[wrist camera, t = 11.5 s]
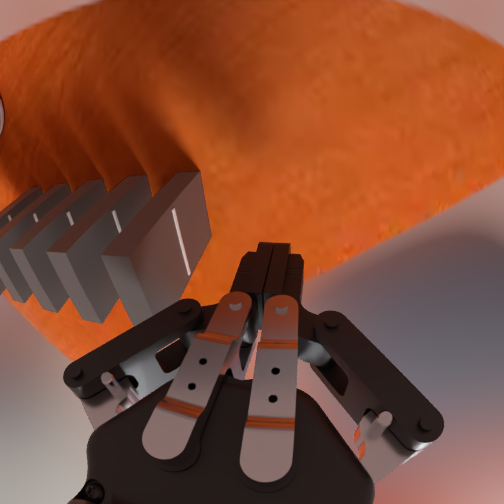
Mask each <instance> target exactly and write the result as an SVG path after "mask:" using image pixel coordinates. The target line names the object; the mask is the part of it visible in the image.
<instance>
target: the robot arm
mask: <svg viewBox="0 0 504 504" xmlns="http://www.w3.org/2000/svg"><path fill="white" fill-rule="evenodd" d="M303 274H304V260H303V259H302V257H301V255H300V254H291V246H290V243H271V242H259V244H258V248H257V251H256V252H247V253H246V254H245V255H244V256H243V257H242V259H241V262H240V264H239V267H238V270H237V273H236V276H235V279H234V281H233V284H232V287H231V290H230V293H228V294H226V295H224V296H223V297H222V298H221V300H220V302H219V303H217V304H214V305H208V306H202V307H201V305H200V303H199V302H198V301H196V300H194V299H182V300H179V301H177V302H175V303H174V304H172V305H170V306H169V307H167V308H165V309H163V310H162V311H160V312H158V313H157V314H155V315H153V316H151V317H150V318H148V319H146V320H145V321H143V322H141V323H139V324H138V325H136V326H134V327H133V328H131V329H129V330H127V331H126V332H124V333H122V334H121V335H119V336H117V337H115V338H114V339H112V340H110V341H109V342H107V343H105V344H103V345H102V346H100V347H98V348H96V349H95V350H93V351H91V352H90V353H88V354H86V355H84V356H83V357H81V358H79V359H77V360H76V361H74V362H72V363H71V364H70V365H68V367H67V368H66V369H65V371H64V376H63V379H64V382H65V384H66V385H67V386H68V387H69V388H70V389H71V390H72V391H73V392H74V394H75V395H76V396H77V397H78V398H79V399H80V400H81V402H82V405H83V407H84V409H85V411H86V414H87V416H88V418H89V420H90V422H91V424H92V426H93V428H94V432H93V433H92V434H91V436H90V438H89V441H88V444H87V460H88V471H87V479H86V483H85V485H84V487H83V488H82V489H81V491H80V492H79V493H78V494H77V495H76V496H75V497H74V498H73V499H72V500H70V501H69V502H68V504H373V501H374V497H375V487H374V485H375V484H376V483H378V482H379V481H380V480H382V479H383V478H384V477H386V476H387V475H388V474H390V473H391V472H392V471H393V470H394V469H396V468H397V467H398V466H400V465H401V464H404V463H406V462H408V461H409V460H410V459H412V458H413V457H415V456H416V455H417V454H419V453H420V452H421V451H422V450H424V449H425V448H426V447H428V446H429V445H430V444H431V443H432V442H434V441H435V440H436V439H437V438H438V437H439V436H440V435H441V433H442V431H443V429H444V420H443V417H442V415H441V414H440V412H439V411H438V410H437V409H436V408H435V407H434V406H433V405H432V404H431V403H430V402H429V401H428V400H427V399H426V398H425V397H424V396H423V395H422V393H421V392H420V391H419V390H418V389H417V388H416V387H415V386H414V385H413V384H412V383H411V382H410V381H409V380H408V379H407V378H406V377H405V376H404V375H403V374H402V373H401V372H400V371H399V370H398V369H397V368H396V367H395V366H394V365H393V364H392V363H391V362H390V361H389V360H388V359H387V358H386V357H385V356H384V355H383V354H382V353H381V352H380V351H379V350H378V349H377V348H376V347H375V346H374V345H373V344H372V343H371V342H370V341H369V340H368V339H367V338H366V337H365V336H364V335H363V334H362V333H361V332H360V331H359V330H358V329H357V328H356V327H355V326H354V325H353V324H352V323H351V322H350V321H349V320H348V319H347V318H346V317H345V316H344V315H343V314H341V313H339V312H336V311H325V312H322V313H320V314H319V315H316V314H313V313H311V312H309V311H307V310H306V309H304V308H303V306H302V305H301V300H302V290H303ZM258 329H260V330H262V332H261V341H260V342H258V346H257V353H256V361H255V368H254V375H253V379H249V380H245V376H246V372H247V369H248V366H249V364H250V361H251V357H252V355H253V352H254V349H255V346H256V337H257V333H258ZM178 338H180V339H179V340H177V341H176V342H174V343H172V344H171V345H169V346H168V347H166V348H164V349H163V350H161V351H159V350H160V349H162V348H163V347H165V346H167V345H168V344H170V343H171V342H173V341H175V340H176V339H178ZM158 351H159V352H158ZM157 352H158V353H157ZM297 359H300V360H303V361H305V362H308V363H310V366H311V368H312V369H313V371H314V372H315V373H316V374H317V376H318V377H319V378H320V379H321V381H322V382H323V383H324V384H325V386H326V387H327V388H328V389H329V391H330V392H331V393H332V394H333V395H334V397H335V398H336V399H337V400H338V402H339V403H340V404H341V405H342V406H343V407H344V409H345V410H346V411H347V413H348V414H349V415H350V416H351V417H352V418H353V420H354V421H355V422H356V423H357V425H358V427H357V428H356V430H355V432H354V443H355V445H356V446H357V448H358V451H359V458H357V457H356V455H355V454H354V453H353V451H352V450H351V449H350V447H349V446H348V445H347V443H346V442H345V440H344V439H343V438H342V436H341V435H340V434H339V432H338V431H337V430H336V428H335V427H334V425H333V424H332V423H331V421H330V420H329V419H328V417H327V416H326V414H325V413H324V411H323V410H322V409H321V407H320V406H319V405H318V403H317V402H316V401H315V400H314V399H313V398H312V397H311V396H310V395H308V394H307V393H305V392H304V391H302V390H299V389H297V388H296V385H297ZM154 390H155V391H154ZM152 391H153V392H152ZM149 393H150V394H149ZM147 394H148V395H147ZM146 395H147V396H146ZM144 396H145V397H144ZM143 397H144V398H143ZM141 398H143V399H141ZM140 399H141V400H140Z"/></svg>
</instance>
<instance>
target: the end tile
mask: <svg viewBox="0 0 504 504" xmlns="http://www.w3.org/2000/svg"><path fill="white" fill-rule="evenodd" d="M42 194H43V192H42V190H41V187H34V188H30V189H29V190H28V191H26V192H25V193H24V194H22V195H21V196H20V197H18V198H17V199H16V200H14V201H13V202H12V203H11V204H9V205H8V206H7V207H6V208H4V209H3V210H2V211H1V212H0V229H2V228H3V227H4V226H5V225H6V224H7V223H8V222H10V221H11V220H12V219H13V218H14V217H15V216H16V215H18V214H19V213H20V212H21V211H22V210H24V209H25V208H26V207H27V206H29V205H30V204H31V203H32V202H34V201H35V200H36V199H37V198H39V197H40V196H41V195H42ZM5 289H6V287H5V285H4V283H3V282H2V280H1V278H0V295H1V294H2V292H3V291H4V290H5Z"/></svg>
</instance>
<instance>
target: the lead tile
mask: <svg viewBox="0 0 504 504" xmlns="http://www.w3.org/2000/svg"><path fill="white" fill-rule="evenodd" d="M211 237H212V236H211V230H210V225H209V219H208V214H207V208H206V202H205V196H204V191H203V185H202V179H201V173H200V171H189V172H177V173H176V174H175V175H174V176H173V177H172V178H171V179H170V180H169V181H168V182H167V183H166V184H165V185H164V186H163V187H162V188H161V189H160V190H159V191H158V192H157V193H156V194H155V195H154V196H153V197H152V198H151V199H150V201H149V202H148V203H147V204H146V205H145V206H144V207H143V208H142V209H141V210H140V211H139V212H138V213H137V214H136V215H135V216H134V218H133V219H132V220H131V221H130V222H129V223H128V224H127V225H126V226H125V227H124V229H123V230H122V231H121V232H120V233H119V234H118V235H117V237H116V238H115V239H114V240H113V241H112V242H111V243H110V245H109V246H108V247H107V248H106V249H105V250H104V252H103V253H102V254H101V257H102V260H103V262H104V264H105V267H106V269H107V271H108V274H109V276H110V278H111V280H112V282H113V285H114V287H115V289H116V291H117V293H118V295H119V297H120V300H121V302H122V304H123V306H124V308H125V310H126V312H127V314H128V316H129V318H130V320H131V322H132V324H133V326H136V325H138V324H139V323H141V322H143V321H145V320H146V319H148V318H150V317H151V316H153V315H155V314H157V313H158V312H160V311H162V310H163V309H165V308H167V307H169V306H170V305H172V304H174V303H175V302H177V301H179V300H180V298H181V296H182V294H183V292H184V290H185V288H186V286H187V284H188V282H189V280H190V278H191V276H192V274H193V272H194V270H195V268H196V266H197V264H198V262H199V260H200V258H201V256H202V254H203V252H204V250H205V248H206V246H207V245H208V243H209V241H210V239H211Z"/></svg>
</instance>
